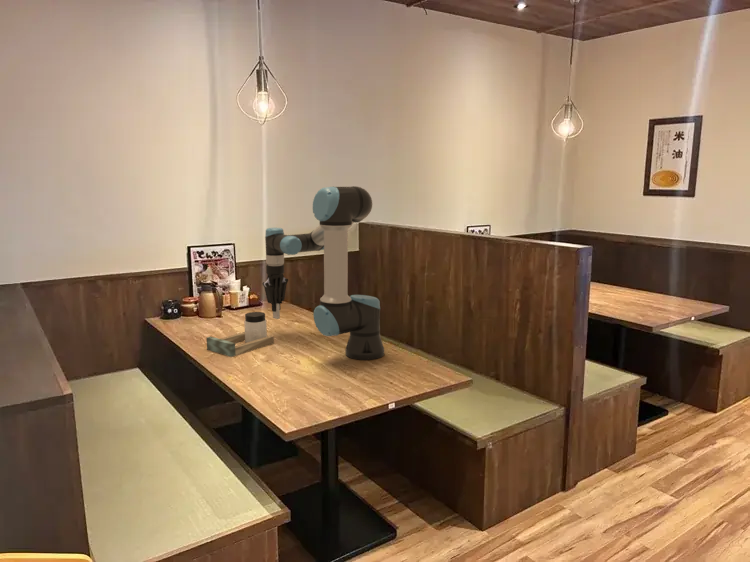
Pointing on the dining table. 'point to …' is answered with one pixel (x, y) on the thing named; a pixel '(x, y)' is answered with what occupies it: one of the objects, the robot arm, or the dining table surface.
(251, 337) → the jar
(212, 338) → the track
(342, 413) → the dining table surface
